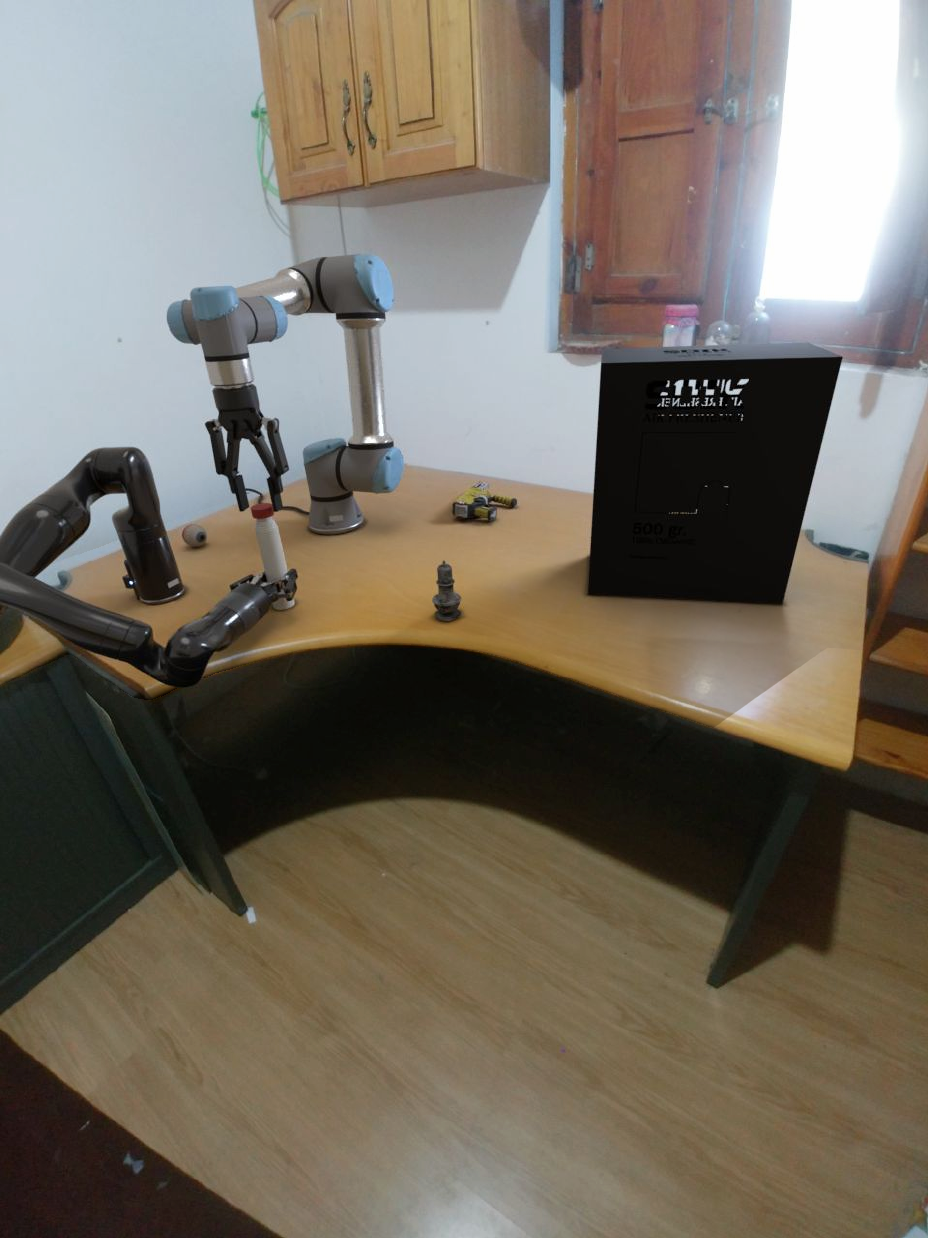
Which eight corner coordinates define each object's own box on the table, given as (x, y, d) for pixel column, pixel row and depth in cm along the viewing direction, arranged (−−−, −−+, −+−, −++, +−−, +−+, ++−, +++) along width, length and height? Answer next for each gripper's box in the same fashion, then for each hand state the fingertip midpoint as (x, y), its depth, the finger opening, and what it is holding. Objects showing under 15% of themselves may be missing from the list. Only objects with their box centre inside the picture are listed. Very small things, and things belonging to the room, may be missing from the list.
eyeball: (196, 552, 157) (189, 530, 154) (181, 548, 160) (174, 526, 157) (215, 543, 161) (209, 522, 158) (200, 540, 165) (193, 519, 162)
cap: (272, 518, 118) (270, 509, 117) (250, 519, 117) (248, 510, 116) (276, 510, 121) (274, 502, 120) (255, 512, 121) (253, 503, 120)
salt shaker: (459, 622, 119) (455, 567, 113) (430, 620, 120) (425, 566, 114) (464, 608, 124) (461, 554, 118) (437, 606, 125) (432, 553, 119)
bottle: (292, 609, 128) (271, 511, 117) (271, 610, 127) (248, 513, 117) (296, 599, 131) (275, 503, 121) (275, 601, 131) (253, 505, 120)
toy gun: (525, 486, 181) (478, 479, 184) (503, 510, 160) (450, 501, 164) (523, 501, 183) (477, 494, 187) (501, 526, 163) (450, 518, 167)
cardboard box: (760, 561, 136) (807, 342, 113) (782, 604, 118) (842, 356, 96) (590, 554, 143) (602, 348, 121) (587, 594, 126) (601, 362, 104)
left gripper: (212, 624, 118) (258, 585, 132) (278, 630, 114) (318, 589, 129) (202, 590, 114) (250, 553, 128) (269, 595, 111) (311, 557, 125)
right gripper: (293, 380, 109) (315, 503, 120) (195, 383, 112) (225, 502, 123) (275, 387, 102) (300, 516, 114) (171, 389, 105) (206, 515, 117)
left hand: (284, 571), depth 128 cm, fingers closed on bottle, 4 cm apart
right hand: (261, 509), depth 118 cm, fingers open, 6 cm apart
